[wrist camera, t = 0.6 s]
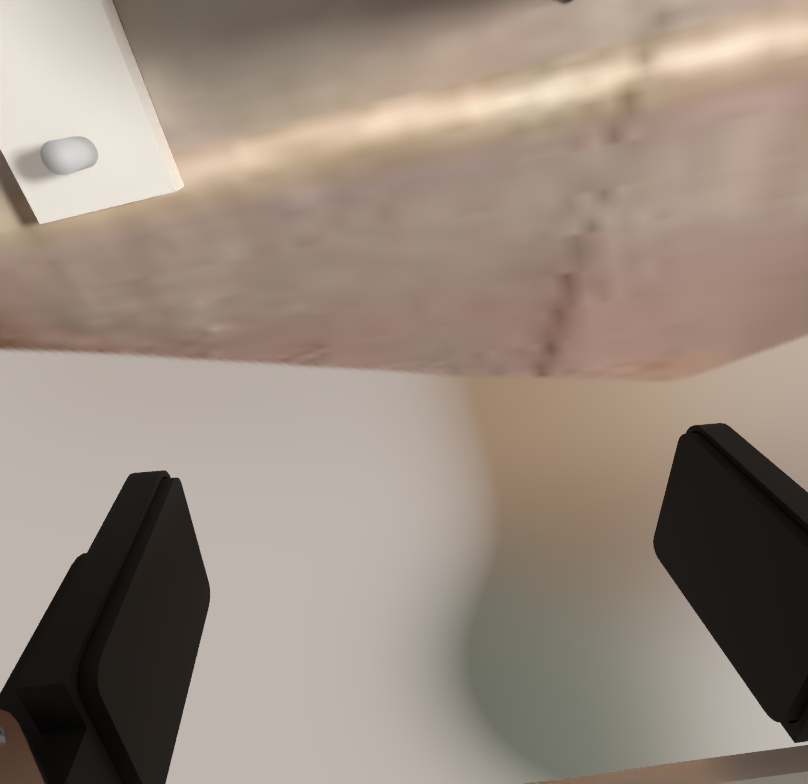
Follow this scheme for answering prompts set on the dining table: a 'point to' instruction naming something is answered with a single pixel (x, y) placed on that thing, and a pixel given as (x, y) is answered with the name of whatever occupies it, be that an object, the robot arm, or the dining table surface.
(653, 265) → the dining table surface
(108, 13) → the white peg board
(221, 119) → the dining table surface
